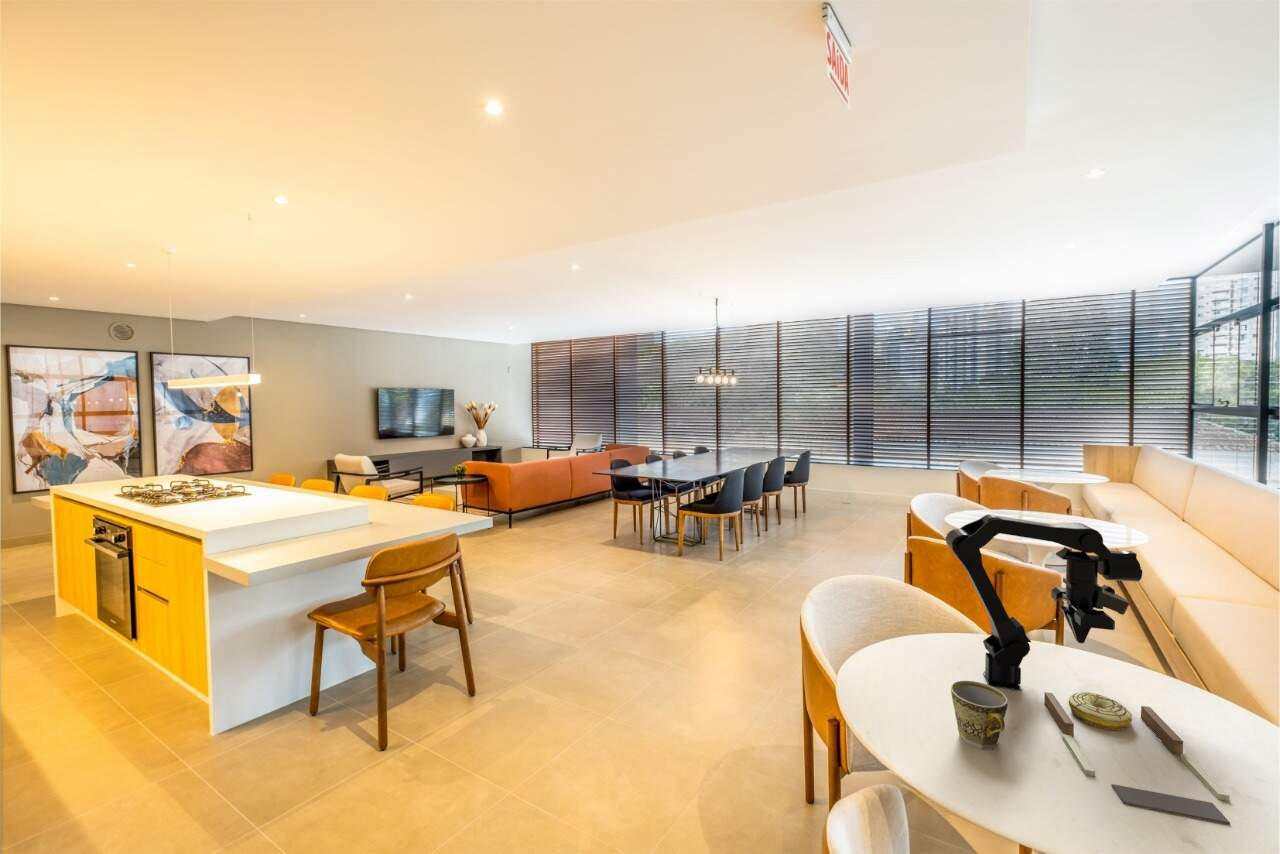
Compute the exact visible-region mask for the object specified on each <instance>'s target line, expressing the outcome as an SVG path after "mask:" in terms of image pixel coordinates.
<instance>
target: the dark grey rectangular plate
mask: <svg viewBox="0 0 1280 854" xmlns="http://www.w3.org/2000/svg"><path fill="white" fill-rule="evenodd" d="M1111 787H1112V789H1113V791H1114V792H1115V793H1116V795H1117V797H1119V800H1120V801H1121V802H1122V804H1123V805H1128V806H1132V807H1138V808H1142V809H1147V810H1153V811H1158V812H1163V813H1167V814H1168V813H1169V814H1173V815H1179V816H1183V817H1188V818H1194V819H1197V820H1205V821H1209V822H1214V823H1219V824H1224V825H1229V826H1230V825H1231V822H1230V821H1229V820H1228V818H1227V817H1226V816H1225V815H1224V814H1223V813H1222V811H1221V810H1219V809H1218V807H1217V806H1216V805H1215V804H1214V803H1213V802H1211V801H1205V800H1201V799H1200V800H1199V799H1195V798H1194V799H1193V798H1188V797H1184V796H1178V795H1173V794H1167V793H1163V792H1162V793H1161V792H1158V791H1157V792H1156V791H1152V790H1151V791H1149V790H1147V789H1139V788H1135V787H1130V786H1126V785H1125V786H1124V785H1120V784H1115V783H1114V784H1113V783H1111Z"/></svg>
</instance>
